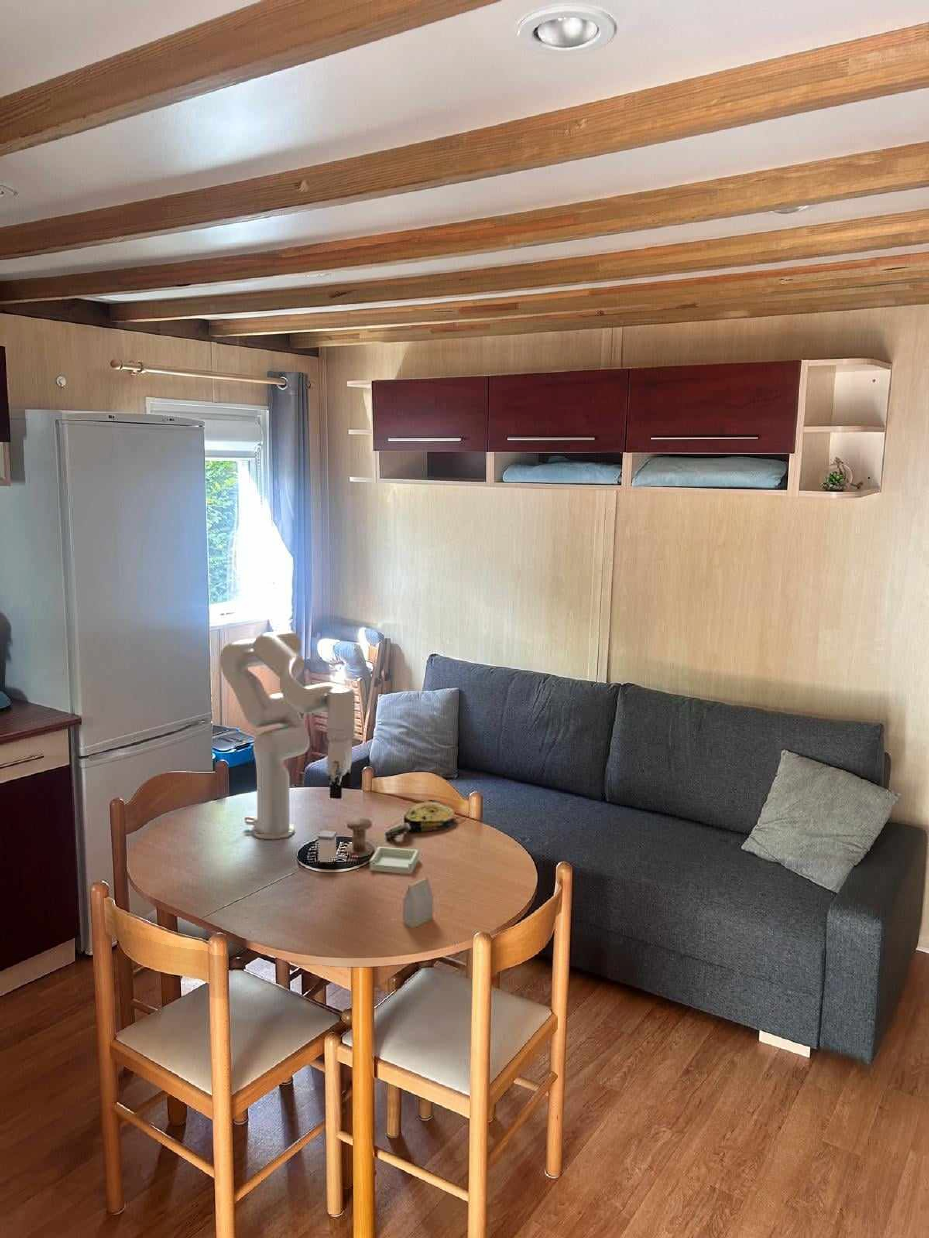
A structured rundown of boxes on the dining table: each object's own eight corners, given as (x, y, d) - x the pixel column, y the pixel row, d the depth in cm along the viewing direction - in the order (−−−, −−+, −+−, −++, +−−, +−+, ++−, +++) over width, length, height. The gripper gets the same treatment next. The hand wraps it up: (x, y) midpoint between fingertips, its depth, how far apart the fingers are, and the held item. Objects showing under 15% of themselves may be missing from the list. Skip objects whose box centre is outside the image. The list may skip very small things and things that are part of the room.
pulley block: (371, 815, 283) (434, 791, 306) (368, 833, 284) (431, 807, 308) (406, 834, 275) (468, 807, 298) (403, 852, 276) (465, 824, 300)
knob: (341, 856, 268) (341, 826, 267) (349, 845, 276) (349, 816, 274) (368, 858, 267) (369, 828, 265) (375, 848, 275) (376, 818, 273)
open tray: (369, 870, 259) (370, 859, 259) (378, 856, 269) (378, 846, 268) (411, 874, 258) (411, 863, 257) (418, 860, 267) (418, 850, 267)
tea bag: (432, 917, 233) (433, 879, 231) (413, 927, 228) (414, 888, 226) (421, 913, 235) (422, 875, 234) (402, 922, 230) (403, 883, 229)
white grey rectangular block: (317, 863, 263) (317, 835, 262) (322, 857, 267) (322, 830, 266) (332, 864, 262) (332, 837, 261) (336, 858, 266) (336, 831, 265)
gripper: (335, 723, 269) (335, 781, 272) (319, 740, 252) (318, 801, 255) (361, 725, 269) (360, 783, 271) (346, 742, 252) (345, 803, 254)
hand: (340, 792), depth 263 cm, fingers open, 9 cm apart
